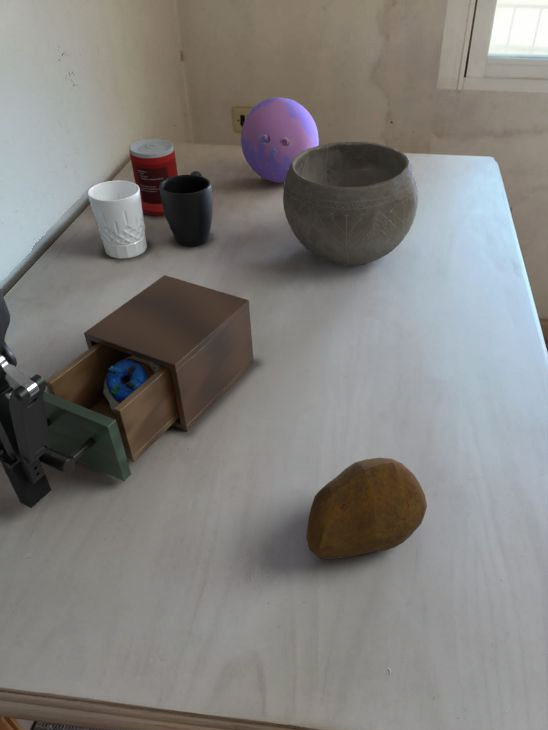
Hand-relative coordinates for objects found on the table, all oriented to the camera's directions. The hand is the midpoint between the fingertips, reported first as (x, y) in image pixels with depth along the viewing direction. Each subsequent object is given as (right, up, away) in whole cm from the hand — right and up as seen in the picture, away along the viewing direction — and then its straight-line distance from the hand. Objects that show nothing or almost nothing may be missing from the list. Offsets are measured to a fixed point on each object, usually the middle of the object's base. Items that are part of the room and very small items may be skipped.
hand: (36, 496), depth 63 cm
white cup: (-4, +36, +42) cm, 56 cm away
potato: (+32, -4, 0) cm, 33 cm away
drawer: (+5, +6, +8) cm, 11 cm away
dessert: (+7, +11, +9) cm, 16 cm away
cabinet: (+11, +13, +17) cm, 24 cm away
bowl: (+33, +36, +42) cm, 65 cm away
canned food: (-1, +47, +54) cm, 72 cm away
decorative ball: (+20, +57, +64) cm, 88 cm away
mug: (+7, +40, +46) cm, 62 cm away
